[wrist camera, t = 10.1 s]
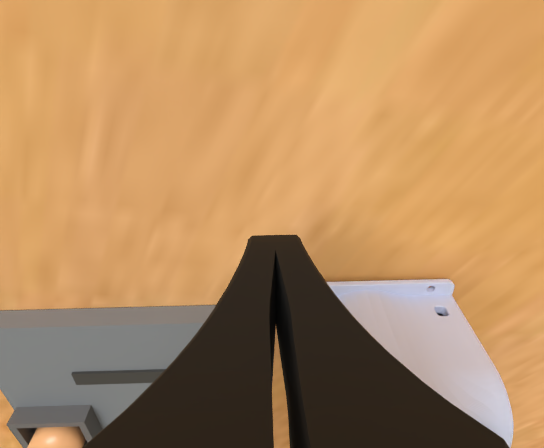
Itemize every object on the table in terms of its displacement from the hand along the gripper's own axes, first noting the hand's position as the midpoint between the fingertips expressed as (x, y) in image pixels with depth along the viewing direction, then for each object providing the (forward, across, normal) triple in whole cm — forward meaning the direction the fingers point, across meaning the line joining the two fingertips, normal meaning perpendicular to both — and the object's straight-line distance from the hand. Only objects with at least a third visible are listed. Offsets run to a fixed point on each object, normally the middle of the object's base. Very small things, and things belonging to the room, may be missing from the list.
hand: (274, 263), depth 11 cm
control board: (+9, +10, +22) cm, 26 cm away
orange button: (+8, +16, +22) cm, 28 cm away
